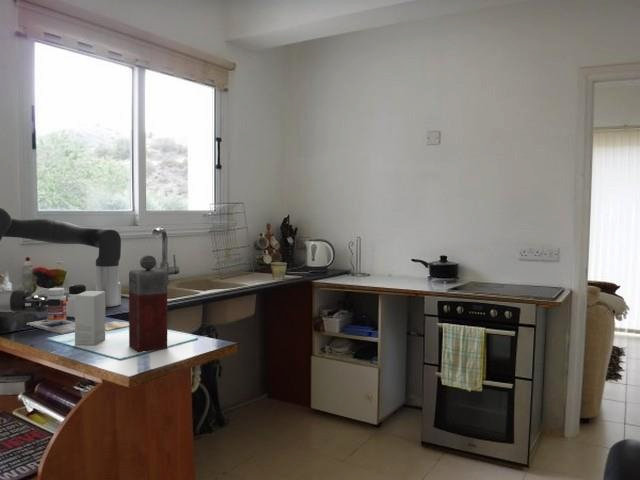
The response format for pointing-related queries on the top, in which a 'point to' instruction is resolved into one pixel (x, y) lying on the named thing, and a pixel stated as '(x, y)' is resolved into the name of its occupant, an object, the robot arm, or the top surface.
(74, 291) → the medicine bottle
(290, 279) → the top surface
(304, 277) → the top surface
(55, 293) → the pill bottle
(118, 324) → the coaster
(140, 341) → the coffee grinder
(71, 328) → the white rectangular panel
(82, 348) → the top surface
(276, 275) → the ceramic cup
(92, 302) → the skincare box
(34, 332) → the top surface
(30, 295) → the robot arm
